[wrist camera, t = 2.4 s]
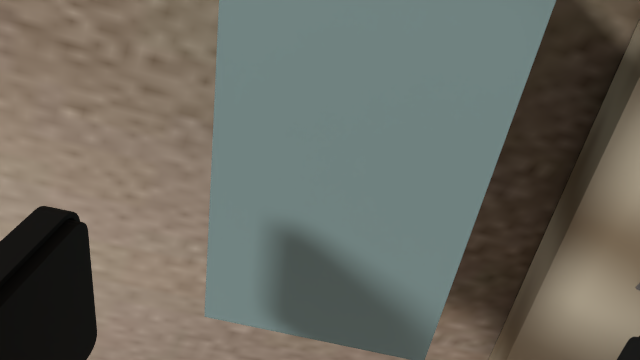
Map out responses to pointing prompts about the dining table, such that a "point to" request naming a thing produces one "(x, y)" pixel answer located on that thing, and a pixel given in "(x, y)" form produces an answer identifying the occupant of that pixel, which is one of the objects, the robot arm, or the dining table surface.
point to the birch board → (588, 244)
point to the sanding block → (356, 159)
